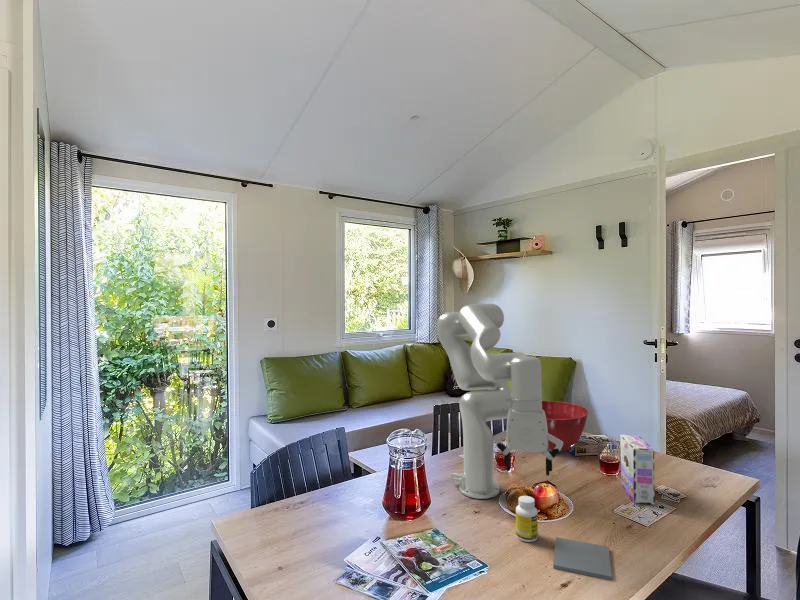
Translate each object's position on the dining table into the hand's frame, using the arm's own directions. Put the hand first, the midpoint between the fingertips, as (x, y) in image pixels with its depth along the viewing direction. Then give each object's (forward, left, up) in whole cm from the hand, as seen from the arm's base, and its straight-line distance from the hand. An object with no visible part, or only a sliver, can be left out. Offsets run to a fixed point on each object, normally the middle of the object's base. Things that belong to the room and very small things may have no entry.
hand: (528, 471), depth 112 cm
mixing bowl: (+1, +71, -17) cm, 73 cm away
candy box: (+28, +36, -17) cm, 49 cm away
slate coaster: (+12, -5, -17) cm, 22 cm away
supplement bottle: (-1, 0, -17) cm, 17 cm away
